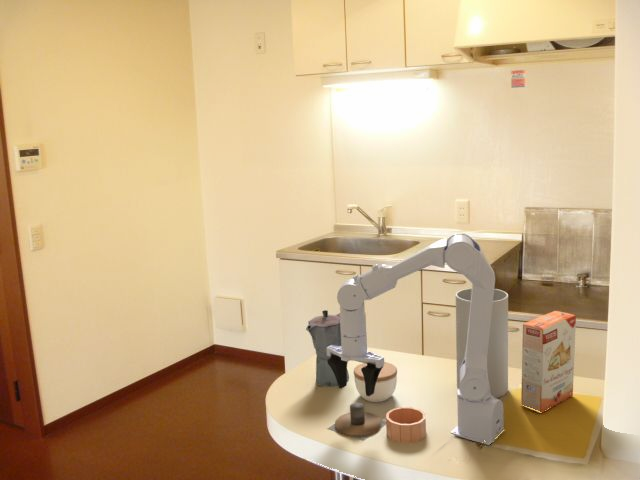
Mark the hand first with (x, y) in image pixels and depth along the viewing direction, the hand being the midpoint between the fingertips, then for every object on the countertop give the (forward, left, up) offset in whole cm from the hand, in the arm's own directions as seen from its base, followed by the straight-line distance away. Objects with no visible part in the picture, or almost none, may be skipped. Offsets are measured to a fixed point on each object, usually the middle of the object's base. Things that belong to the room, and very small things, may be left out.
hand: (356, 390), depth 151 cm
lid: (0, 0, -8) cm, 8 cm away
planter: (-11, -3, -9) cm, 14 cm away
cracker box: (-31, -35, -9) cm, 48 cm away
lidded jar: (+5, -15, -9) cm, 18 cm away
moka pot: (+21, -18, -9) cm, 29 cm away
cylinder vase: (-15, -33, -9) cm, 37 cm away
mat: (0, 0, -9) cm, 9 cm away
